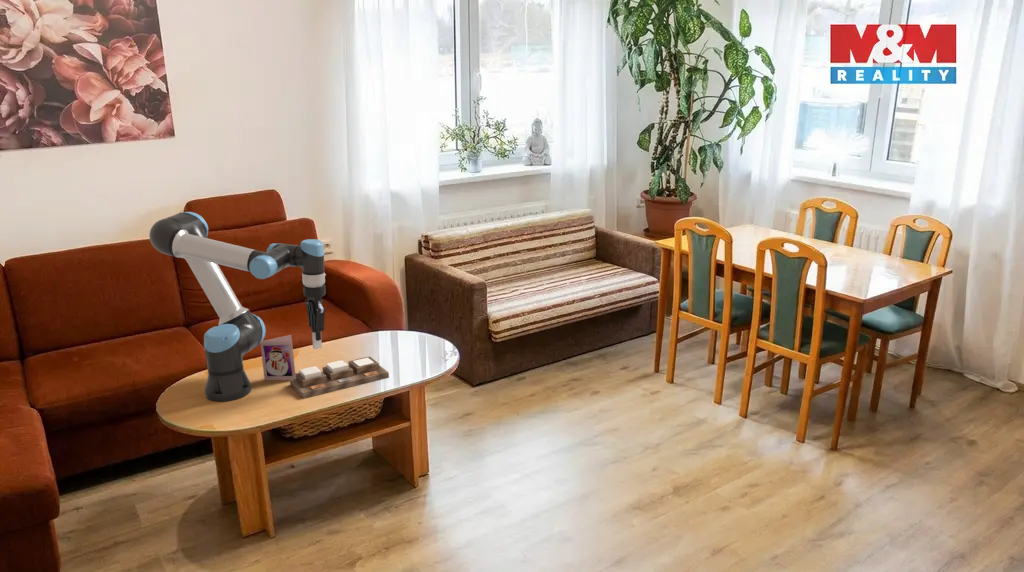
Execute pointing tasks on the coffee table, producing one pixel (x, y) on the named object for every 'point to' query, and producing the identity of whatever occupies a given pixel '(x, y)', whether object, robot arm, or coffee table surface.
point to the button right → (363, 362)
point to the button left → (310, 372)
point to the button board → (338, 379)
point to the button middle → (337, 366)
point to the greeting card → (278, 358)
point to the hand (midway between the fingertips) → (317, 347)
